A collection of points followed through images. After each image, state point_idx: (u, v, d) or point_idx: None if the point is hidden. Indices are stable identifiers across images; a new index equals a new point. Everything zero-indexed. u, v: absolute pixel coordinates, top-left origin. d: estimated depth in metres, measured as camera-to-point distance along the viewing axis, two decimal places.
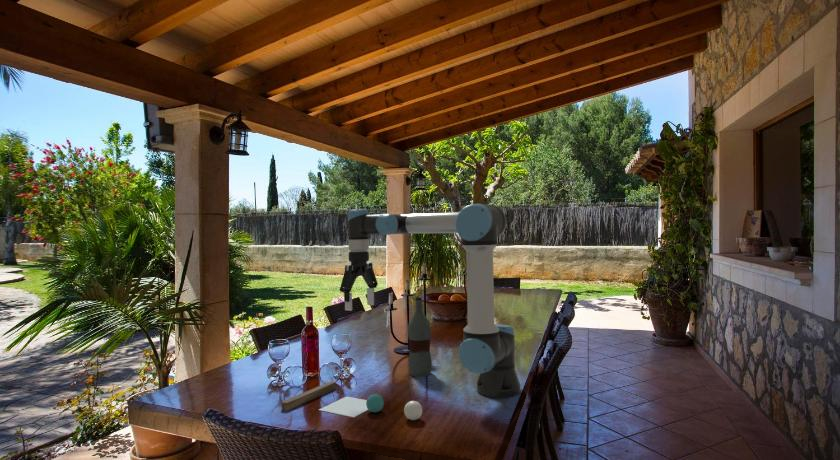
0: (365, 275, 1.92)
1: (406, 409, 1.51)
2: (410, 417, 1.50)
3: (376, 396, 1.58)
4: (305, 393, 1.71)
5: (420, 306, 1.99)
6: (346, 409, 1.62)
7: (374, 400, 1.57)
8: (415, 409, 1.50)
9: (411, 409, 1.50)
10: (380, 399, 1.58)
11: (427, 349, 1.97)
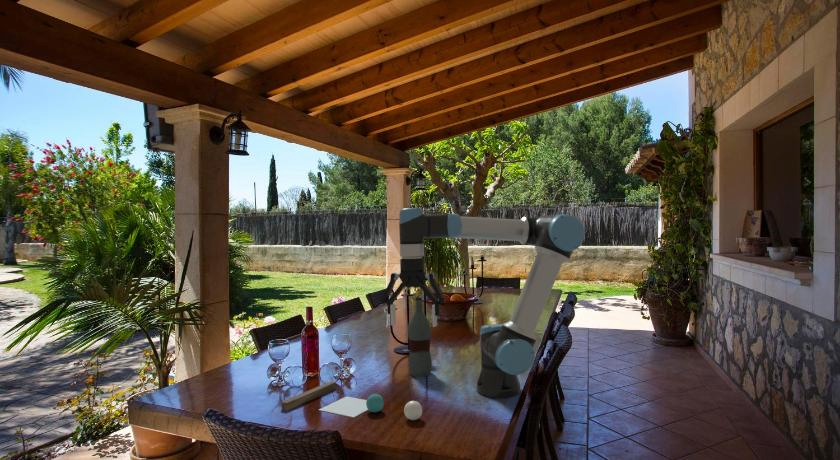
0: None
1: (406, 409, 1.51)
2: (410, 417, 1.50)
3: (376, 396, 1.58)
4: (305, 393, 1.71)
5: (420, 306, 1.99)
6: (346, 409, 1.62)
7: (374, 400, 1.57)
8: (415, 409, 1.50)
9: (411, 409, 1.50)
10: (380, 399, 1.58)
11: (427, 349, 1.97)
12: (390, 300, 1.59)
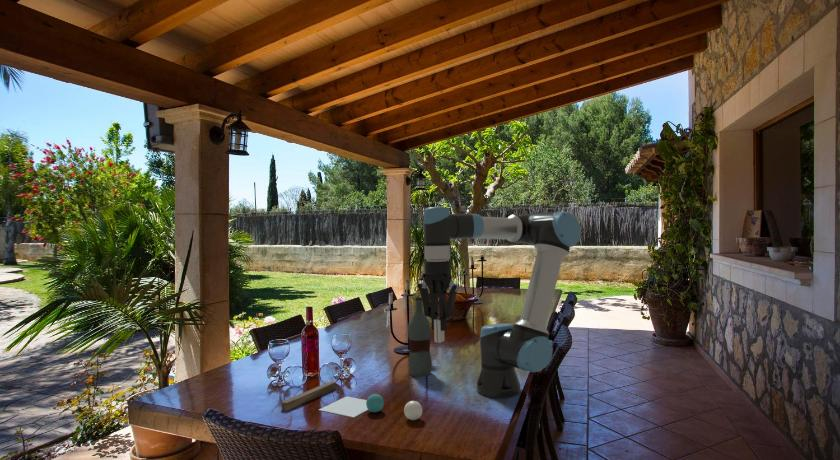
0: None
1: (406, 409, 1.51)
2: (410, 417, 1.50)
3: (376, 396, 1.58)
4: (305, 393, 1.71)
5: (420, 306, 1.99)
6: (346, 409, 1.62)
7: (374, 400, 1.57)
8: (415, 409, 1.50)
9: (411, 409, 1.50)
10: (380, 399, 1.58)
11: (427, 349, 1.97)
12: (432, 313, 1.47)
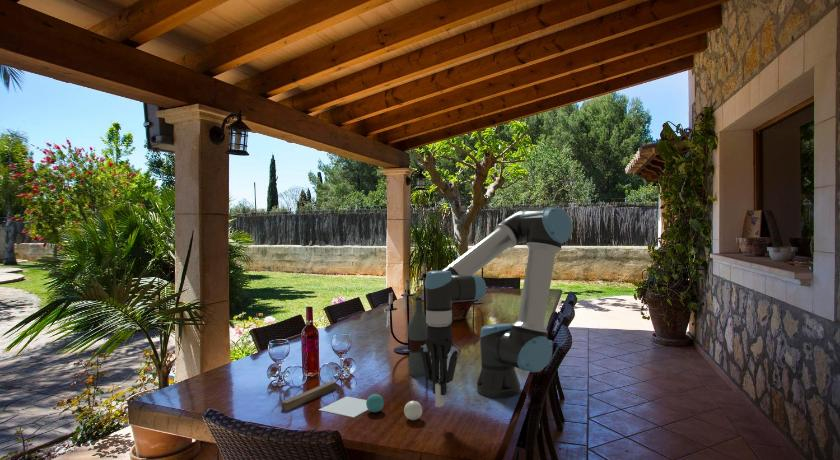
0: None
1: (406, 409, 1.51)
2: (410, 417, 1.50)
3: (376, 396, 1.58)
4: (305, 393, 1.71)
5: (420, 306, 1.99)
6: (346, 409, 1.62)
7: (374, 400, 1.57)
8: (415, 409, 1.50)
9: (411, 409, 1.50)
10: (380, 399, 1.58)
11: None
12: (433, 378, 1.47)
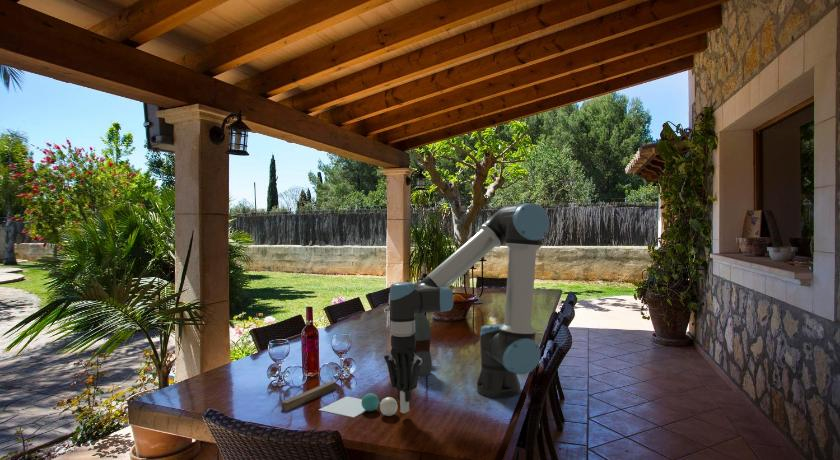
0: None
1: (386, 413, 1.54)
2: (384, 405, 1.54)
3: (367, 394, 1.60)
4: (305, 393, 1.71)
5: None
6: (346, 409, 1.62)
7: (366, 397, 1.59)
8: (380, 409, 1.56)
9: (381, 411, 1.55)
10: (371, 394, 1.60)
11: (427, 349, 1.97)
12: (398, 385, 1.53)
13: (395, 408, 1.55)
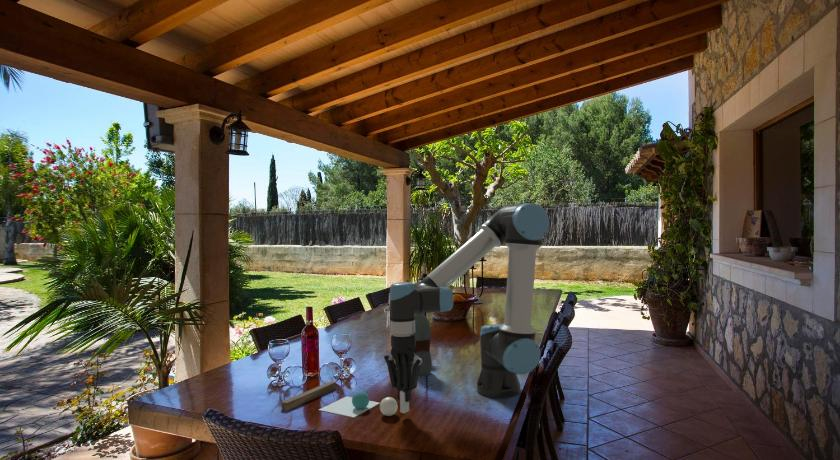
0: None
1: (386, 413, 1.54)
2: (384, 405, 1.54)
3: None
4: (305, 393, 1.71)
5: None
6: (346, 409, 1.62)
7: None
8: (380, 409, 1.56)
9: (381, 411, 1.55)
10: None
11: (427, 349, 1.97)
12: (398, 385, 1.53)
13: (395, 408, 1.55)
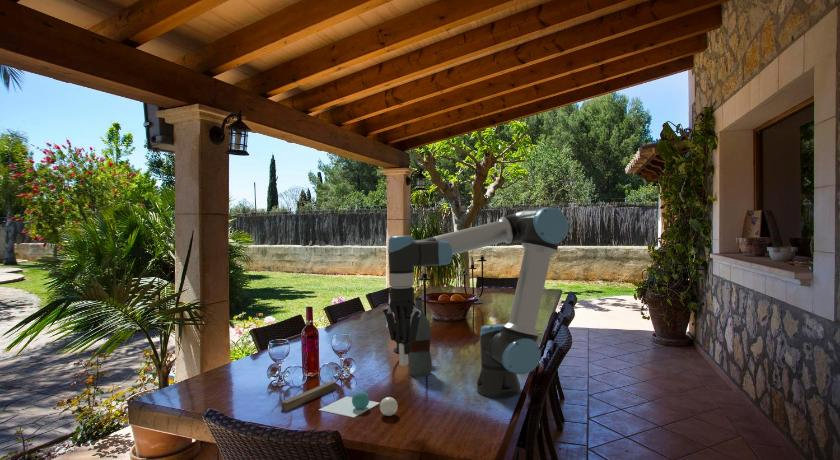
0: None
1: (386, 413, 1.54)
2: (384, 405, 1.54)
3: None
4: (305, 393, 1.71)
5: (420, 306, 1.99)
6: (346, 409, 1.62)
7: None
8: (380, 409, 1.56)
9: (381, 411, 1.55)
10: None
11: (427, 349, 1.97)
12: (397, 338, 1.53)
13: (395, 408, 1.55)
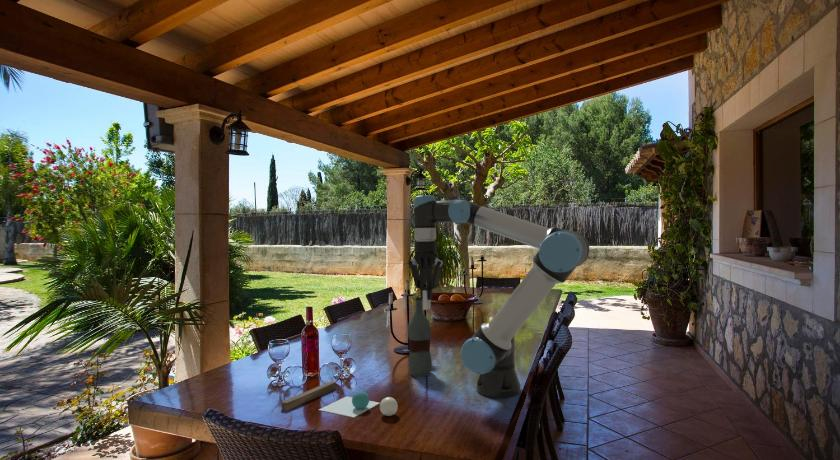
0: None
1: (386, 413, 1.54)
2: (384, 405, 1.54)
3: None
4: (305, 393, 1.71)
5: (420, 306, 1.99)
6: (346, 409, 1.62)
7: None
8: (380, 409, 1.56)
9: (381, 411, 1.55)
10: None
11: (427, 349, 1.97)
12: (421, 285, 1.74)
13: (395, 408, 1.55)
